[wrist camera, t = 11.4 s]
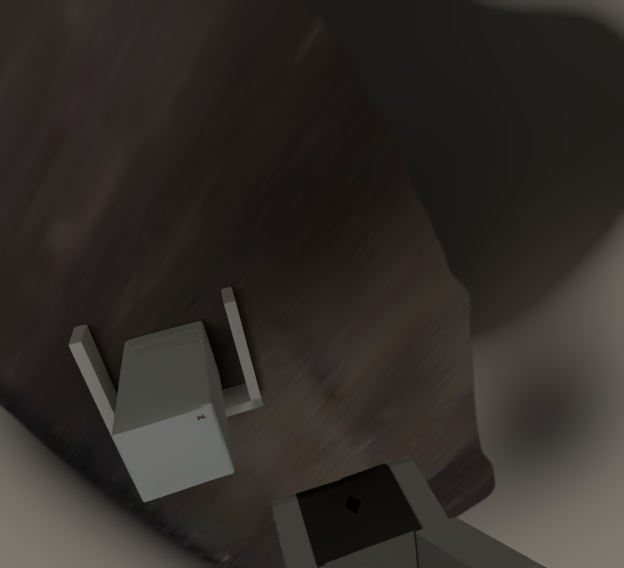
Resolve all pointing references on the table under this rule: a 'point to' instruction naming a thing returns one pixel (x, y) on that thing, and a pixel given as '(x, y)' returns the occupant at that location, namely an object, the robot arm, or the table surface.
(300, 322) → the table surface
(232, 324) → the bay
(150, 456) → the supplement box
